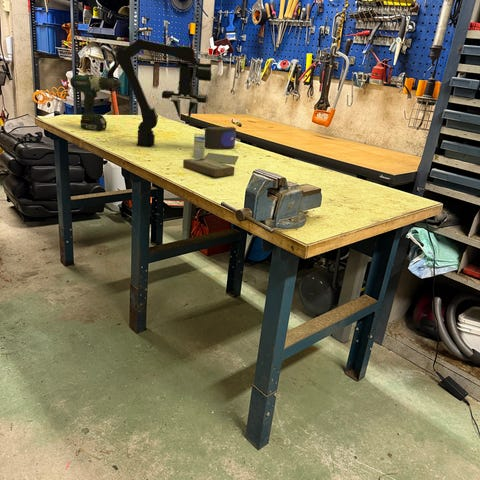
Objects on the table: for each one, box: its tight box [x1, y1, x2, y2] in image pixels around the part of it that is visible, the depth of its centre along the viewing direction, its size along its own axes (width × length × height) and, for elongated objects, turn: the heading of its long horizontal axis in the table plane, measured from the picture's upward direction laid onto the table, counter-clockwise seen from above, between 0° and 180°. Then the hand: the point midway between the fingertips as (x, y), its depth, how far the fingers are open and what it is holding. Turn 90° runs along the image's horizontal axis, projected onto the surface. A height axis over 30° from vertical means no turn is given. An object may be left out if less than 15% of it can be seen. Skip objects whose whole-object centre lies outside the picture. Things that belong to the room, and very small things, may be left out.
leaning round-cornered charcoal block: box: [204, 126, 237, 150], centre depth 194 cm, size 16×5×9 cm, turn 124°
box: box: [182, 157, 235, 178], centre depth 158 cm, size 11×17×3 cm, turn 46°
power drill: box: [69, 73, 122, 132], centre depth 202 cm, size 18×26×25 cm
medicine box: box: [192, 132, 205, 159], centre depth 176 cm, size 8×4×9 cm, turn 5°
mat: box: [204, 152, 239, 165], centre depth 178 cm, size 13×14×1 cm
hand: (184, 117), depth 184 cm, fingers open, 4 cm apart
